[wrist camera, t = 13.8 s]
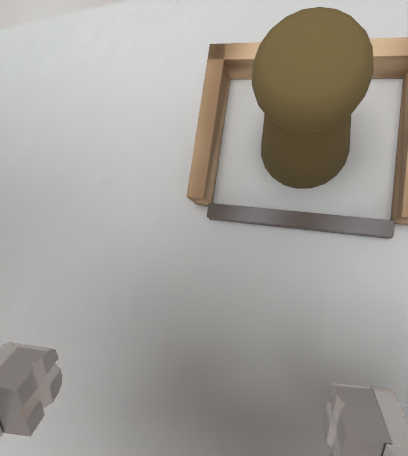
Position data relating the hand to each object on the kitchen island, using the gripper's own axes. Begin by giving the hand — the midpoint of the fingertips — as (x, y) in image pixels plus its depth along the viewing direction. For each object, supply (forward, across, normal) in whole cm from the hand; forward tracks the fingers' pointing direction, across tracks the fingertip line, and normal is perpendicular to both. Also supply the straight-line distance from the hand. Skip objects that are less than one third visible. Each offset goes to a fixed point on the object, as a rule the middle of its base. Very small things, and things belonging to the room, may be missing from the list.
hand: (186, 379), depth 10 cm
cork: (+18, -5, -4) cm, 19 cm away
